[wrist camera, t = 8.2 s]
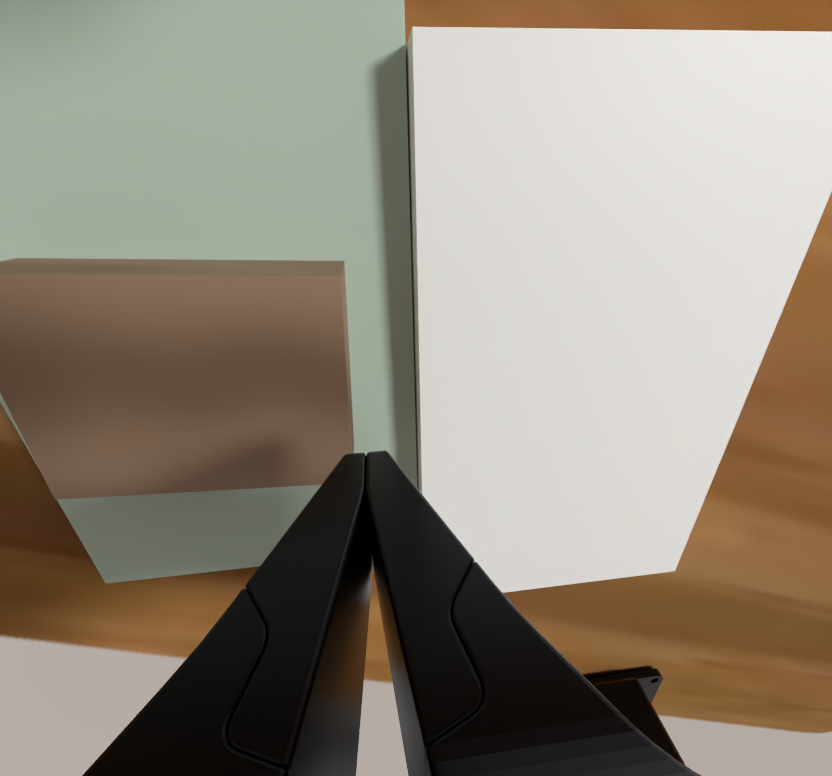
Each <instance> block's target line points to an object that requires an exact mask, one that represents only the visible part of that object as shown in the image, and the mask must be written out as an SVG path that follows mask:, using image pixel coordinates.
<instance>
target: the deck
mask: <svg viewBox="0 0 832 776" xmlns="http://www.w3.org/2000/svg"><path fill="white" fill-rule="evenodd" d="M406 84H407V121H408V158H409V194H410V231H411V268H412V305H413V341H414V378H415V415H416V451H417V488H418V490H419V491H420V492H421V494H422V495H423V496H424V497H425V499H426V500H427V501H428V502H429V503H430V505H431V506H432V507H433V508H434V510H435V511H436V512H437V513H438V515H439V516H440V517H441V518H442V520H443V521H444V522H445V523H446V525H447V526H448V527H449V528H450V530H451V531H452V532H453V533H454V534H455V536H456V537H457V538H458V539H459V541H460V542H461V543H462V544H463V546H464V547H465V548H466V549H467V551H468V552H469V553H470V554H471V556H472V557H473V558H474V562H477V563H478V564H479V565H480V566H481V568H482V569H483V570H484V571H485V573H486V574H487V575H488V576H489V578H490V579H491V580H492V581H493V582H494V584H495V585H496V586H497V587H498V588H499V589H500V591H501V592H502V593H504V592H512V591H520V590H528V589H536V588H544V587H552V586H560V585H568V584H576V583H584V582H592V581H600V580H608V579H616V578H624V577H632V576H640V575H648V574H656V573H664V572H672V571H675V569H676V567H677V565H678V562H679V560H680V557H681V555H682V553H683V550H684V548H685V545H686V543H687V540H688V538H689V536H690V533H691V531H692V528H693V526H694V523H695V521H696V519H697V516H698V514H699V511H700V509H701V506H702V504H703V502H704V499H705V497H706V494H707V492H708V489H709V487H710V485H711V482H712V480H713V477H714V475H715V473H716V470H717V468H718V465H719V463H720V460H721V458H722V456H723V453H724V451H725V448H726V446H727V443H728V441H729V439H730V436H731V434H732V431H733V429H734V426H735V424H736V422H737V419H738V417H739V414H740V412H741V410H742V407H743V405H744V402H745V400H746V397H747V395H748V393H749V390H750V388H751V385H752V383H753V380H754V378H755V376H756V373H757V371H758V368H759V366H760V363H761V361H762V359H763V356H764V354H765V351H766V349H767V347H768V344H769V342H770V339H771V337H772V334H773V332H774V330H775V327H776V325H777V322H778V320H779V317H780V315H781V313H782V310H783V308H784V305H785V303H786V300H787V298H788V296H789V293H790V291H791V288H792V286H793V283H794V281H795V279H796V276H797V274H798V271H799V269H800V267H801V264H802V262H803V259H804V257H805V254H806V252H807V250H808V247H809V245H810V242H811V240H812V237H813V235H814V233H815V230H816V228H817V225H818V223H819V220H820V218H821V216H822V213H823V211H824V208H825V206H826V204H827V201H828V199H829V196H830V194H831V191H832V32H811V31H726V30H641V29H556V28H471V27H412V30H411V33H410V37H409V40H408V43H407V46H406Z"/></svg>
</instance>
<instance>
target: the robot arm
mask: <svg viewBox="0 0 832 776" xmlns="http://www.w3.org/2000/svg"><path fill="white" fill-rule="evenodd" d="M372 556H373V566H374V573H375V580H376V586H377V592H378V598H379V604H380V609H381V615H382V621H383V627H384V633H385V639H386V645H387V651H388V657H389V662H390V668H391V674H392V680H393V686H394V691H395V698H396V703H397V710H398V716H399V721H400V727H401V733H402V739H403V745H404V751H405V757H406V762H407V768H408V774H409V776H701V775H699V774H697V773H696V772H694V771H692V770H691V769H689V768H688V767H686V766H685V764H684V762H683V760H682V758H681V757H680V755H679V753H678V751H677V749H676V748H675V746H674V744H673V742H672V740H671V739H670V737H669V735H668V733H667V731H666V730H665V728H664V726H663V724H662V722H661V720H660V719H659V717H658V715H657V713H656V711H655V710H654V708H653V706H652V704H651V702H652V700H653V698H654V696H655V694H656V692H657V690H658V688H659V686H660V684H661V682H662V679H663V677H662V676H661V674H660V672H659V671H658V669H647V670H640V671H633V672H626V673H620V674H613V675H606V676H600V677H593V678H585V677H584V676H583V675H582V674H581V673H580V672H579V671H578V670H577V669H576V668H575V667H574V666H573V665H572V664H571V663H570V662H569V661H568V660H567V659H566V658H565V657H564V656H563V655H562V654H561V653H560V652H559V651H558V650H557V649H556V648H555V647H554V646H553V645H552V644H551V643H550V642H548V641H547V640H546V639H545V638H544V637H543V636H542V635H541V634H540V633H539V631H538V630H537V629H536V628H535V627H534V626H533V625H532V624H531V623H530V622H529V621H528V620H527V619H526V618H525V617H524V616H523V615H522V614H521V613H520V612H519V611H518V610H517V609H516V608H515V607H514V606H513V605H512V603H511V602H510V601H509V600H508V599H507V598H506V596H505V595H504V594H503V593H502V592H501V591H500V589H499V588H498V587H497V586H496V585H495V584H494V582H493V581H492V580H491V579H490V578H489V576H488V575H487V574H486V573H485V571H484V570H483V569H482V568H481V566H480V565H479V564H478V563H477V562H474V558H473V557H472V556H471V554H470V553H469V552H468V551H467V549H466V548H465V547H464V546H463V544H462V543H461V542H460V541H459V539H458V538H457V537H456V536H455V534H454V533H453V532H452V531H451V530H450V528H449V527H448V526H447V525H446V523H445V522H444V521H443V520H442V518H441V517H440V516H439V515H438V513H437V512H436V511H435V510H434V508H433V507H432V506H431V505H430V503H429V502H428V501H427V500H426V499H425V497H424V496H423V495H422V494H421V492H420V491H419V490H418V489H417V487H416V486H415V485H414V484H413V482H412V481H411V480H410V479H409V477H408V476H407V475H406V474H405V472H404V471H403V470H402V469H401V467H400V466H399V465H398V464H397V463H396V461H395V460H394V459H393V458H392V456H391V455H390V454H389V453H388V452H387V451H374V452H368V453H367V455H366V454H365V453H351V454H345V455H344V456H343V457H342V459H341V460H340V461H339V463H338V464H337V465H336V467H335V468H334V469H333V470H332V472H331V473H330V474H329V476H328V477H327V478H326V480H325V481H324V482H323V484H322V485H321V486H320V488H319V489H318V490H317V492H316V493H315V494H314V496H313V497H312V498H311V500H310V501H309V502H308V503H307V505H306V506H305V507H304V509H303V510H302V511H301V513H300V514H299V515H298V517H297V518H296V519H295V521H294V522H293V523H292V525H291V526H290V527H289V529H288V530H287V531H286V533H285V534H284V535H283V537H282V538H281V539H280V540H279V542H278V543H277V544H276V546H275V547H274V548H273V550H272V551H271V552H270V554H269V555H268V556H267V558H266V559H265V560H264V562H263V563H262V564H261V566H260V567H259V568H258V570H257V571H256V572H255V574H254V575H253V576H252V577H251V579H250V580H249V581H248V583H247V584H246V586H245V588H246V589H243V590H241V592H240V593H239V594H238V596H237V597H236V598H235V600H234V601H233V602H232V604H231V605H230V606H229V608H228V609H227V610H226V611H225V613H224V614H223V615H222V616H221V618H220V619H219V620H218V621H217V623H216V624H215V625H214V626H213V628H212V629H211V630H210V632H209V633H208V634H207V635H206V637H205V638H204V639H203V640H202V642H201V643H200V644H199V645H198V646H197V648H196V649H195V650H194V651H193V652H192V653H191V654H190V656H189V657H188V658H187V659H186V660H185V661H184V663H183V664H182V665H181V666H180V667H179V668H178V670H177V671H176V672H175V673H174V674H173V675H172V676H171V678H170V679H169V680H168V681H167V682H166V683H165V685H164V686H163V687H162V688H161V689H160V690H159V691H158V692H157V693H156V695H155V696H154V697H153V698H152V699H151V700H150V701H149V702H148V703H147V705H146V706H145V707H144V708H143V709H142V710H141V711H140V712H139V714H137V716H136V717H135V718H134V719H133V720H132V721H131V722H130V724H129V725H128V726H127V727H126V728H125V729H124V730H123V731H122V732H121V733H120V734H119V736H118V737H117V738H116V739H115V740H114V741H113V742H112V743H111V744H110V746H109V747H108V748H107V749H106V750H105V751H104V752H103V754H101V756H100V757H99V758H98V759H97V760H96V761H95V762H94V763H93V765H92V766H91V767H90V768H89V769H88V770H87V771H86V772H85V773H84V775H83V776H356V766H357V753H358V742H359V729H360V716H361V704H362V693H363V692H362V691H363V681H364V668H365V656H366V644H367V632H368V620H369V607H370V595H371V583H372Z"/></svg>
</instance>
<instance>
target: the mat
mask: <svg viewBox="0 0 832 776" xmlns="http://www.w3.org/2000/svg"><path fill="white" fill-rule="evenodd" d="M14 258H68V259H182V260H297V261H344V264H345V283H346V302H347V321H348V339H349V358H350V377H351V396H352V415H353V434H354V453H365V454H366V455H367V453H368V452H374V451H387V452H388V453H389V454H390V455H391V456H392V458H393V459H394V460H395V461H396V463H397V464H398V465H399V466H400V467H401V469H402V470H403V471H404V472H405V474H406V475H407V476H408V477H409V479H410V480H411V481H412V482H413V484H414V485H415V486H416V487H417V451H416V415H415V378H414V341H413V305H412V268H411V231H410V194H409V158H408V121H407V84H406V48H405V11H404V0H0V261H5V260H10V259H14ZM0 403H1V405H2V406H3V408H4V410H5V411H6V413H7V415H8V417H9V418H10V420H11V422H12V423H13V425H14V427H15V429H16V430H17V432H18V434H19V435H20V437H21V439H22V441H23V442H24V444H25V446H26V447H27V449H28V451H29V453H30V454H31V452H30V450H29V448H28V446H27V444H26V442H25V440H24V438H23V436H22V434H21V432H20V430H19V428H18V427H17V425H16V423H15V421H14V419H13V417H12V415H11V413H10V411H9V409H8V407H7V405H6V403H5V401H4V399H3V397H2V395H1V393H0ZM31 456H32V454H31ZM32 458H33V456H32ZM33 460H34V458H33ZM34 461H35V460H34ZM35 463H36V462H35ZM36 465H37V464H36ZM320 486H321V485H308V486H290V487H272V488H255V489H237V490H219V491H201V492H183V493H165V494H147V495H129V496H112V497H94V498H76V499H58V500H57V501H58V503H59V504H60V506H61V508H62V509H63V511H64V513H65V515H66V516H67V518H68V520H69V521H70V523H71V525H72V527H73V528H74V530H75V532H76V533H77V535H78V537H79V539H80V540H81V542H82V544H83V546H84V547H85V549H86V551H87V552H88V554H89V556H90V558H91V559H92V561H93V563H94V564H95V566H96V568H97V570H98V571H99V573H100V575H101V576H102V578H103V580H104V582H105V583H106V584H107V583H116V582H125V581H134V580H143V579H152V578H161V577H170V576H178V575H187V574H196V573H205V572H214V571H223V570H232V569H241V568H250V567H259V566H261V564H262V563H263V562H264V560H265V559H266V558H267V556H268V555H269V554H270V552H271V551H272V550H273V548H274V547H275V546H276V544H277V543H278V542H279V540H280V539H281V538H282V537H283V535H284V534H285V533H286V531H287V530H288V529H289V527H290V526H291V525H292V523H293V522H294V521H295V519H296V518H297V517H298V515H299V514H300V513H301V511H302V510H303V509H304V507H305V506H306V505H307V503H308V502H309V501H310V500H311V498H312V497H313V496H314V494H315V493H316V492H317V490H318V489H319V488H320ZM417 489H418V488H417Z"/></svg>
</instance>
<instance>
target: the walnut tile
mask: <svg viewBox="0 0 832 776" xmlns="http://www.w3.org/2000/svg"><path fill="white" fill-rule="evenodd" d="M0 393H1V395H2V397H3V399H4V401H5V403H6V405H7V407H8V409H9V411H10V413H11V415H12V417H13V419H14V421H15V423H16V425H17V427H18V428H19V430H20V432H21V434H22V436H23V438H24V440H25V442H26V444H27V446H28V448H29V450H30V452H31V454H32V456H33V458H34V460H35V462H36V464H37V466H38V468H39V470H40V472H41V474H42V476H43V478H44V480H45V482H46V483H47V485H48V487H49V489H50V491H51V493H52V495H53V497H54V499H55V500H58V499H76V498H94V497H112V496H129V495H147V494H165V493H183V492H201V491H219V490H237V489H255V488H272V487H290V486H308V485H322V484H323V482H324V481H325V480H326V478H327V477H328V476H329V474H330V473H331V472H332V470H333V469H334V468H335V467H336V465H337V464H338V463H339V461H340V460H341V459H342V457H343V456H344V455H345V454H351V453H354V434H353V415H352V396H351V377H350V358H349V339H348V321H347V302H346V283H345V264H344V261H297V260H182V259H68V258H14V259H10V260H5V261H0Z"/></svg>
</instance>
